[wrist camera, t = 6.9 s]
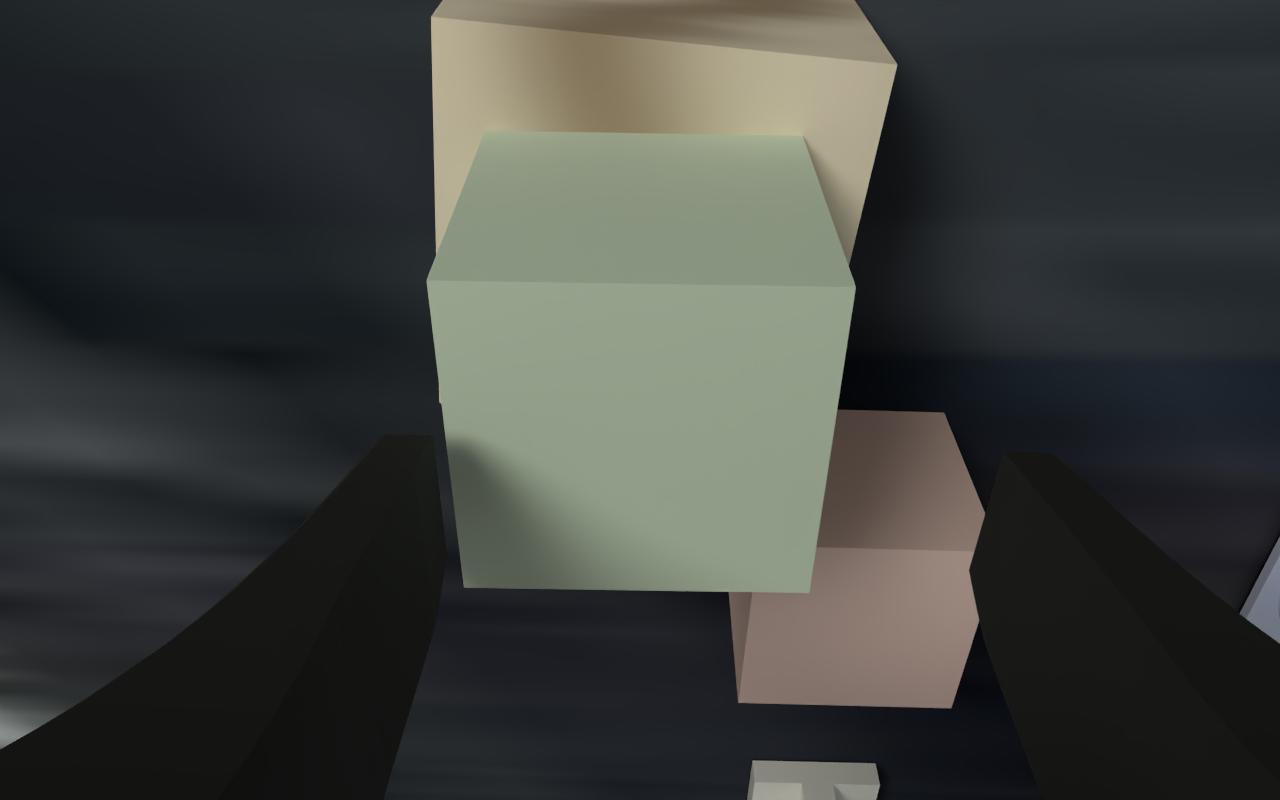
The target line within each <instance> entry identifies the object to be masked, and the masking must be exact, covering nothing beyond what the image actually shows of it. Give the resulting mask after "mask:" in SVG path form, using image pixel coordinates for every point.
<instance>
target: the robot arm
mask: <svg viewBox="0 0 1280 800" xmlns="http://www.w3.org/2000/svg"><path fill="white" fill-rule="evenodd" d="M446 557H447V553H446V544H445V536H444V527H443V519H442V510H441V502H440V493H439V485H438V476H437V468H436V459H435V450H434V442H433V436H418V435H384V436H383V437H382V438H380V439H379V440H378V441H377V442H376V443H375V444H374V445H373V446H372V448H371V449H370V450H369V451H368V452H367V453H366V454H365V455H364V457H363V458H362V459H361V460H360V461H359V462H358V463H357V464H356V466H355V467H354V468H353V469H352V470H351V471H350V472H349V473H348V474H347V476H346V477H345V478H344V479H343V480H342V481H341V482H340V483H339V484H338V486H337V487H336V488H335V489H334V490H333V491H332V492H331V493H330V494H329V495H328V496H327V498H326V499H325V500H324V501H323V502H322V503H321V504H320V505H319V506H318V507H317V508H316V509H315V510H314V511H313V512H312V513H311V514H310V515H309V516H308V517H307V518H306V519H305V521H304V522H303V523H302V524H301V525H300V526H299V527H298V528H297V529H296V530H295V531H294V532H293V533H292V534H291V535H290V536H289V537H288V538H287V539H286V540H285V541H284V542H283V543H282V544H281V545H280V546H279V547H278V548H277V549H276V550H275V551H274V552H273V553H272V554H271V555H269V556H268V557H267V558H266V559H265V560H264V561H263V562H262V563H261V564H260V565H259V566H258V567H257V568H255V569H254V570H253V571H252V572H251V573H250V574H249V575H248V576H247V577H246V578H245V579H244V580H243V581H241V582H240V583H239V584H238V585H237V586H236V587H235V588H234V589H233V590H232V591H231V592H229V593H228V594H227V595H226V596H225V597H224V598H222V599H221V600H220V601H219V602H218V603H217V604H215V605H214V606H213V607H212V608H211V609H210V610H208V611H207V612H206V613H205V614H203V615H202V616H201V617H200V618H199V619H197V620H196V621H195V622H194V623H192V624H191V625H190V626H189V627H187V628H186V629H185V630H183V631H182V632H181V633H180V634H178V635H177V636H176V637H174V638H173V639H172V640H171V641H169V642H168V643H167V644H165V645H164V646H162V647H161V648H160V649H158V650H157V651H156V652H154V653H153V654H151V655H150V656H148V657H147V658H145V659H144V660H142V661H141V662H140V663H138V664H137V665H135V666H134V667H132V668H131V669H129V670H128V671H126V672H125V673H123V674H122V675H120V676H119V677H117V678H116V679H114V680H113V681H112V682H110V683H109V684H107V685H106V686H104V687H103V688H101V689H100V690H98V691H97V692H95V693H94V694H92V695H91V696H89V697H88V698H86V699H85V700H83V701H82V702H80V703H79V704H77V705H75V706H74V707H72V708H70V709H69V710H67V711H65V712H64V713H62V714H61V715H59V716H57V717H56V718H54V719H52V720H51V721H49V722H47V723H46V724H44V725H42V726H41V727H39V728H37V729H36V730H34V731H32V732H30V733H29V734H27V735H25V736H23V737H21V738H20V739H18V740H16V741H14V742H13V743H11V744H9V745H7V746H6V747H4V748H2V749H0V800H384V796H385V792H386V788H387V784H388V780H389V777H390V774H391V771H392V767H393V764H394V761H395V757H396V754H397V751H398V748H399V744H400V741H401V738H402V734H403V731H404V728H405V725H406V721H407V718H408V715H409V711H410V708H411V705H412V702H413V698H414V695H415V692H416V688H417V685H418V682H419V678H420V675H421V672H422V668H423V665H424V662H425V658H426V655H427V652H428V648H429V645H430V641H431V638H432V634H433V631H434V628H435V623H436V617H437V612H438V606H439V600H440V595H441V589H442V582H443V576H444V570H445V564H446ZM969 574H970V578H971V583H972V588H973V593H974V598H975V603H976V608H977V613H978V617H979V621H980V625H981V630H982V634H983V638H984V642H985V645H986V648H987V651H988V654H989V656H990V659H991V662H992V665H993V668H994V670H995V673H996V676H997V679H998V681H999V684H1000V687H1001V690H1002V692H1003V695H1004V698H1005V701H1006V703H1007V706H1008V709H1009V711H1010V714H1011V717H1012V719H1013V722H1014V725H1015V727H1016V730H1017V733H1018V736H1019V738H1020V741H1021V744H1022V746H1023V749H1024V752H1025V754H1026V757H1027V760H1028V762H1029V765H1030V768H1031V770H1032V773H1033V776H1034V779H1035V781H1036V784H1037V787H1038V789H1039V792H1040V795H1041V797H1042V800H1280V537H1279V539H1278V541H1277V543H1276V545H1275V547H1274V548H1273V550H1272V552H1271V554H1270V556H1269V558H1268V560H1267V562H1266V564H1265V566H1264V568H1263V570H1262V571H1261V573H1260V575H1259V577H1258V579H1257V581H1256V583H1255V585H1254V587H1253V589H1252V591H1251V593H1250V595H1249V596H1248V598H1247V600H1246V602H1245V604H1244V606H1243V608H1242V610H1241V612H1240V613H1238V612H1237V611H1236V610H1234V609H1233V608H1232V607H1231V606H1229V605H1228V604H1227V603H1225V602H1224V601H1223V600H1222V599H1220V598H1219V597H1218V596H1216V595H1215V594H1214V593H1213V592H1211V591H1210V590H1209V589H1207V588H1206V587H1205V586H1204V585H1203V584H1201V583H1200V582H1199V581H1198V580H1196V579H1195V578H1194V577H1193V576H1192V575H1190V574H1189V573H1188V572H1187V571H1186V570H1184V569H1183V568H1182V567H1181V566H1180V565H1178V564H1177V563H1176V562H1175V561H1174V560H1172V559H1171V558H1170V557H1169V556H1168V555H1167V554H1165V553H1164V552H1163V551H1162V550H1161V549H1160V548H1159V547H1157V546H1156V545H1155V544H1154V543H1153V542H1152V541H1150V540H1149V539H1148V538H1147V537H1146V536H1145V535H1144V534H1142V533H1141V532H1140V531H1139V530H1138V529H1137V528H1136V527H1135V526H1133V525H1132V524H1131V523H1130V522H1129V521H1128V520H1127V519H1126V518H1124V517H1123V516H1122V515H1121V514H1120V513H1119V512H1118V511H1117V510H1116V509H1114V508H1113V507H1112V506H1111V505H1110V504H1109V503H1108V502H1107V501H1106V500H1104V499H1103V498H1102V497H1101V496H1100V495H1099V494H1098V493H1097V492H1096V491H1094V490H1093V489H1092V488H1091V487H1090V486H1089V485H1088V484H1087V483H1085V482H1084V481H1083V480H1082V479H1081V478H1080V477H1079V476H1078V475H1076V474H1075V473H1074V472H1073V471H1072V470H1071V469H1070V468H1068V467H1067V466H1066V465H1065V464H1064V463H1063V462H1061V461H1060V460H1059V459H1058V458H1056V457H1055V456H1054V455H1053V454H1050V453H1015V452H1003V454H1002V458H1001V461H1000V465H999V468H998V472H997V475H996V479H995V482H994V485H993V489H992V492H991V496H990V499H989V503H988V506H987V510H986V513H985V516H984V520H983V523H982V527H981V530H980V534H979V537H978V540H977V544H976V547H975V551H974V554H973V558H972V561H971V565H970V568H969Z"/></svg>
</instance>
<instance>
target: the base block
mask: <svg viewBox="0 0 1280 800" xmlns="http://www.w3.org/2000/svg"><path fill="white" fill-rule="evenodd" d="M431 34H432V80H433V127H434V173H435V219H436V255H437V252H438V250H439V247H440V245H441V242H442V240H443V237H444V235H445V232H446V229H447V227H448V224H449V222H450V219H451V217H452V214H453V211H454V209H455V206H456V204H457V201H458V199H459V196H460V194H461V191H462V188H463V186H464V183H465V181H466V178H467V176H468V173H469V170H470V168H471V165H472V163H473V160H474V158H475V155H476V153H477V150H478V147H479V145H480V142H481V140H482V137H483V135H484V132H485V131H542V132H605V133H666V134H727V135H788V136H803V138H804V141H805V143H806V146H807V149H808V152H809V155H810V158H811V161H812V163H813V166H814V169H815V172H816V175H817V178H818V181H819V183H820V186H821V189H822V192H823V195H824V198H825V200H826V203H827V206H828V209H829V212H830V215H831V218H832V220H833V223H834V226H835V229H836V232H837V235H838V237H839V240H840V243H841V246H842V249H843V252H844V255H845V257H846V260H847V263H848V266H849V263H850V259H851V255H852V251H853V247H854V243H855V238H856V234H857V230H858V226H859V222H860V218H861V213H862V209H863V205H864V201H865V197H866V193H867V189H868V184H869V180H870V176H871V172H872V168H873V164H874V160H875V155H876V151H877V147H878V143H879V139H880V135H881V131H882V126H883V122H884V118H885V114H886V110H887V106H888V102H889V97H890V93H891V89H892V85H893V81H894V77H895V73H896V68H897V63H896V62H895V60H894V59H893V57H892V56H891V54H890V53H889V51H888V50H887V48H886V47H885V45H884V44H883V42H882V41H881V39H880V38H879V36H878V35H877V33H876V32H875V30H874V29H873V27H872V26H871V24H870V23H869V21H868V20H867V18H866V17H865V15H864V14H863V12H862V11H861V9H860V8H859V6H858V5H857V3H856V2H855V0H443V1H442V2H441V4H440V5H439V6H438V8H437V9H436V11H435V12H434V13H433V15H432V16H431ZM439 403H441V395H440V386H439Z"/></svg>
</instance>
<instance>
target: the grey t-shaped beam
mask: <svg viewBox="0 0 1280 800" xmlns="http://www.w3.org/2000/svg"><path fill="white" fill-rule="evenodd" d="M879 787H880V783H879V778H878V773H877V768H876V763H840V762H798V761H755V760H753V761H752V768H751V776H750V783H749V790H748V797H747V800H876V798H877V795H878V791H879Z"/></svg>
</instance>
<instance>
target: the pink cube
mask: <svg viewBox="0 0 1280 800" xmlns="http://www.w3.org/2000/svg"><path fill="white" fill-rule="evenodd" d="M984 516H985V512H984V510H983V507H982V505H981V502H980V500H979V497H978V495H977V492H976V490H975V487H974V485H973V483H972V480H971V478H970V475H969V473H968V470H967V468H966V465H965V463H964V460H963V458H962V456H961V453H960V451H959V448H958V446H957V443H956V441H955V438H954V436H953V433H952V431H951V428H950V426H949V424H948V421H947V419H946V416H945V414H944V413H939V412H903V411H868V410H837V415H836V421H835V428H834V434H833V441H832V447H831V454H830V460H829V467H828V474H827V480H826V487H825V493H824V500H823V506H822V513H821V519H820V526H819V533H818V539H817V546H816V552H815V559H814V565H813V572H812V579H811V585H810V592H809V593H776V592H729V600H730V611H731V623H732V635H733V647H734V658H735V670H736V682H737V694H738V703H767V704H806V705H845V706H884V707H923V708H952V704H953V701H954V698H955V695H956V692H957V689H958V685H959V682H960V679H961V676H962V673H963V670H964V667H965V663H966V660H967V657H968V654H969V651H970V648H971V645H972V641H973V638H974V635H975V632H976V629H977V626H978V623H979V617H978V613H977V608H976V603H975V598H974V593H973V588H972V583H971V578H970V574H969V568H970V565H971V561H972V558H973V554H974V551H975V547H976V544H977V540H978V537H979V534H980V530H981V527H982V523H983V520H984Z"/></svg>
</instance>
